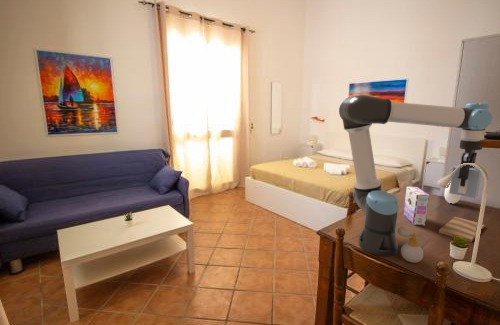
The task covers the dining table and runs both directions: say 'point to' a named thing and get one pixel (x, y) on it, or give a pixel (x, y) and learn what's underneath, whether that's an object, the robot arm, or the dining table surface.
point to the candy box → (416, 205)
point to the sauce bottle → (451, 196)
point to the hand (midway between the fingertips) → (463, 191)
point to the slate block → (472, 184)
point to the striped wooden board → (460, 228)
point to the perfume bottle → (410, 247)
